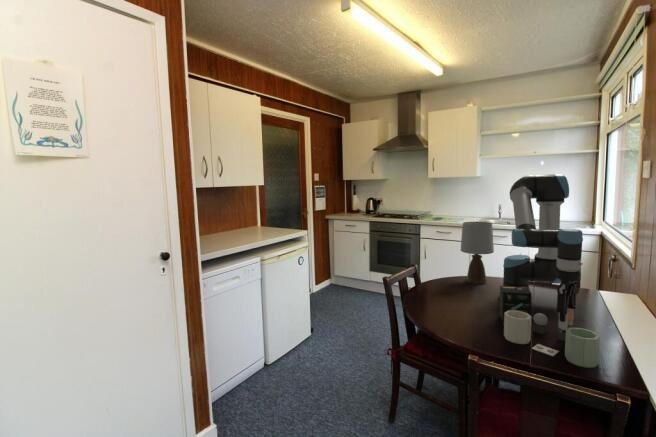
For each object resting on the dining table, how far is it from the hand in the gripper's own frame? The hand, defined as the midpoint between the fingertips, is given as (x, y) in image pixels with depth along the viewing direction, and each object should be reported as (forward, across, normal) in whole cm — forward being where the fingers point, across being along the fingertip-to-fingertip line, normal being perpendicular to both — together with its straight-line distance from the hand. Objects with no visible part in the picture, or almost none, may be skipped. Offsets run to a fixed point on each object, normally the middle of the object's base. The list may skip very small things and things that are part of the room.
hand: (565, 326), depth 128 cm
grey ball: (+2, -1, +9) cm, 9 cm away
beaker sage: (+5, -14, -9) cm, 18 cm away
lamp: (+7, +43, +61) cm, 75 cm away
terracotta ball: (-2, 0, 0) cm, 2 cm away
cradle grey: (+5, -1, +9) cm, 10 cm away
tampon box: (+6, +2, +20) cm, 21 cm away
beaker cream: (+5, -14, +12) cm, 19 cm away
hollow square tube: (+5, -1, 0) cm, 5 cm away
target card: (+5, -16, +1) cm, 16 cm away
